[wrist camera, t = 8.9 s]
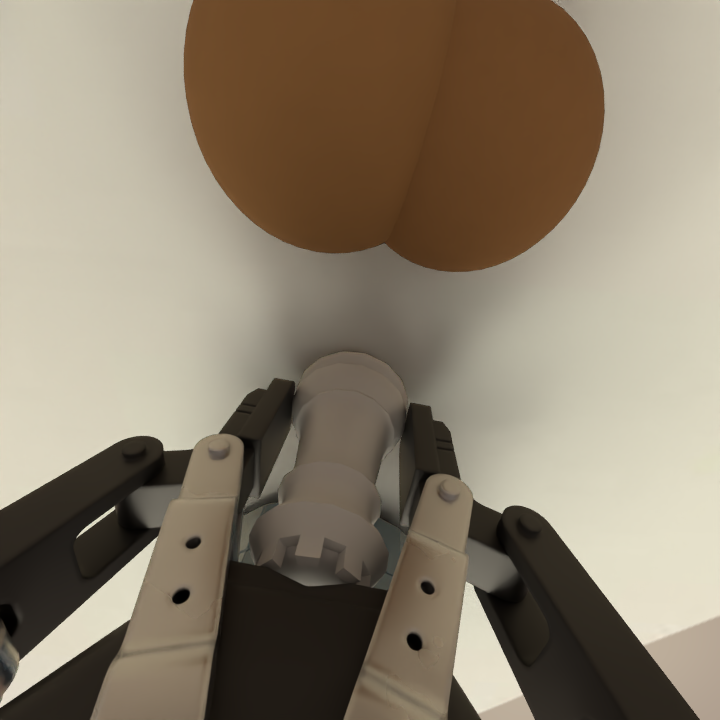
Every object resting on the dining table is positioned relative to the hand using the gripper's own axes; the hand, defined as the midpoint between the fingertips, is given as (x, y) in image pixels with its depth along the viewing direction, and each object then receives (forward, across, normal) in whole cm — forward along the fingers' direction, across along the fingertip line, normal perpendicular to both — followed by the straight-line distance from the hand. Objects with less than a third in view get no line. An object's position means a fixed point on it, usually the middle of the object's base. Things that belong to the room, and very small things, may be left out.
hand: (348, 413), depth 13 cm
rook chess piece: (+1, 0, 0) cm, 1 cm away
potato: (+1, 0, -9) cm, 9 cm away
